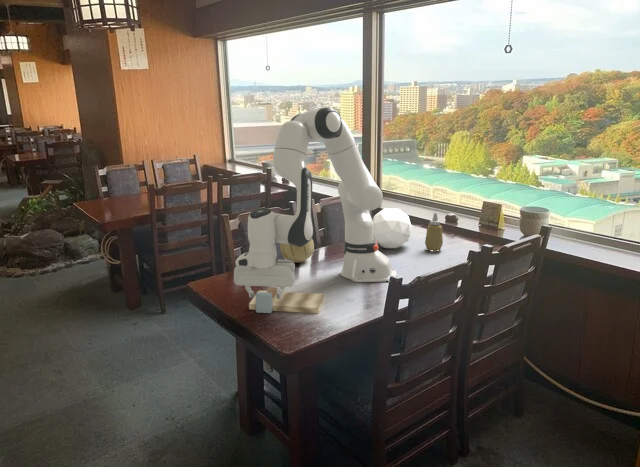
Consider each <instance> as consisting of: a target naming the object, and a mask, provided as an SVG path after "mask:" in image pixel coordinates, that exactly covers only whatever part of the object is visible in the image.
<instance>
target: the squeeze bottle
mask: <svg viewBox="0 0 640 467" xmlns="http://www.w3.org/2000/svg"><path fill="white" fill-rule="evenodd" d="M443 243H444V241H443V226H442V225H441V220H440V219H439V218H438V213H437V212H434V213H433V216H432V219H430V220H429V224H428V226H427V228H426V235H425V241H424V245H425V248H426V250H427V249H428V250H433V251H437V250H440V251H441V249H442V247H443ZM428 250H427V251H428Z"/></svg>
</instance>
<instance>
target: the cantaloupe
mask: <svg viewBox="0 0 640 467" xmlns="http://www.w3.org/2000/svg"><path fill="white" fill-rule="evenodd" d="M279 247H280V253H281V254H282V256H283V259H290V260H291V261H293V262H294V264H295V263H296V264H297V263H303V262H306V261H307V260H309V259H310V257H312V255H313V253H314V249H315V243H314V240H313V238H312V239H311V240H310V241H309V242H308V243H307V244H306V245H304V246H303V247H297V246H293V245H290V244H284V243H279Z"/></svg>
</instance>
